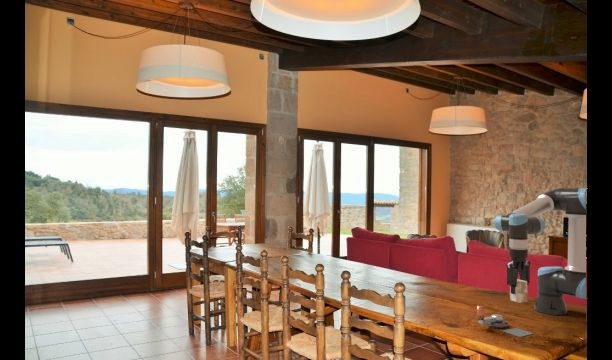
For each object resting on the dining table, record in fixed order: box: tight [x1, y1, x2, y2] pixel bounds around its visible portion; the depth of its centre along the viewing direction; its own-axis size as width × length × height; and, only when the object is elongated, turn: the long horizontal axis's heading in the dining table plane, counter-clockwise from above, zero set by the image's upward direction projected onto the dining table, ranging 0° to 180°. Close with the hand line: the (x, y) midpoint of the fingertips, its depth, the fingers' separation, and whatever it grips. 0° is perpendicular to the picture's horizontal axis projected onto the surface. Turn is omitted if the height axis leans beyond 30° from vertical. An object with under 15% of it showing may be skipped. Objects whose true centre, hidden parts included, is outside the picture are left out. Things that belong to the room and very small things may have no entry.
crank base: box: [486, 319, 509, 330], centre depth 209 cm, size 9×9×2 cm
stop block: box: [509, 278, 528, 304], centre depth 199 cm, size 5×5×9 cm
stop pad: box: [502, 327, 534, 338], centre depth 199 cm, size 9×9×1 cm
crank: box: [476, 305, 504, 325], centre depth 207 cm, size 15×5×8 cm, turn 117°
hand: (518, 300), depth 199 cm, fingers closed on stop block, 5 cm apart
